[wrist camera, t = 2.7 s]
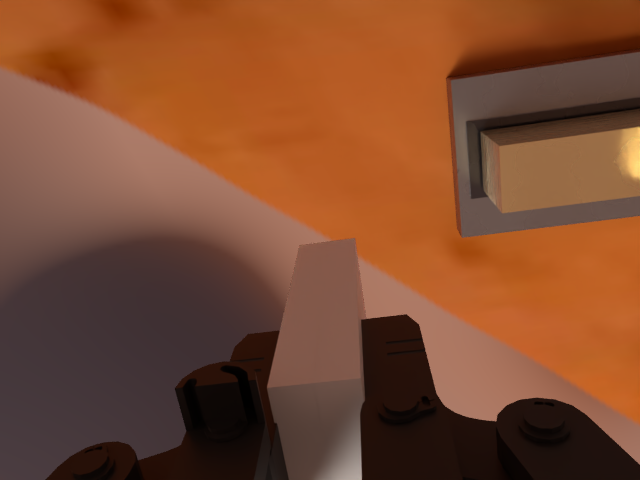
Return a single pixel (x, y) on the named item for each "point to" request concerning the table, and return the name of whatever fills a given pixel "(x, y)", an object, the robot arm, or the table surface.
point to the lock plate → (530, 108)
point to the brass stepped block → (562, 161)
